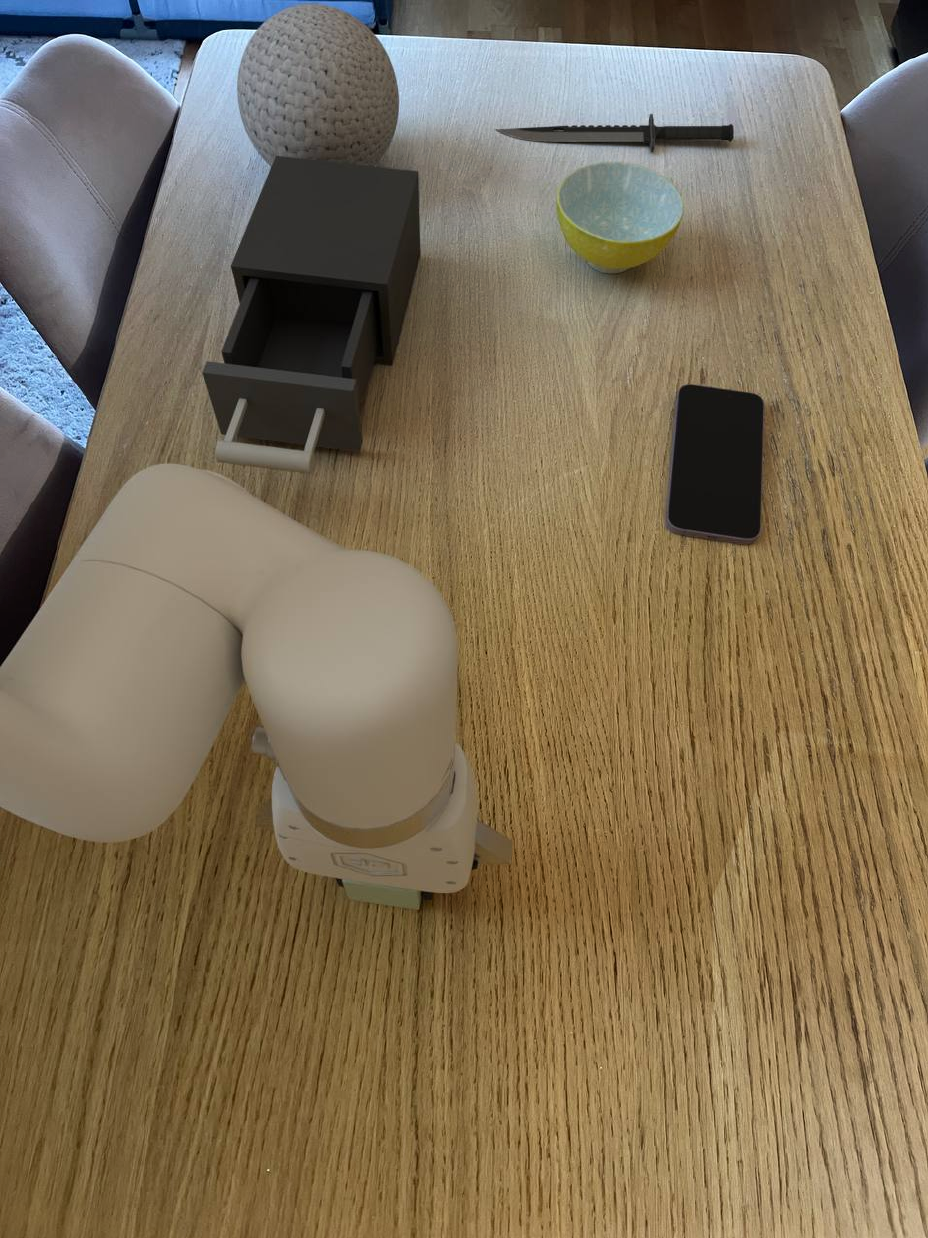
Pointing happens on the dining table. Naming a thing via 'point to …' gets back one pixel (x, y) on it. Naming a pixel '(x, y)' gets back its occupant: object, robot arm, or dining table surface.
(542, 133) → the knife
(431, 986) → the dining table surface
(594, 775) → the dining table surface
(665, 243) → the bowl
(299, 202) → the cabinet
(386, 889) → the block
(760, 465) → the smartphone
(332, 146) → the decorative ball
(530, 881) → the dining table surface
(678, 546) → the dining table surface
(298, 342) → the drawer
